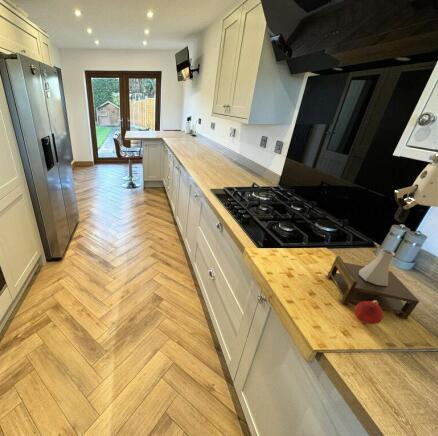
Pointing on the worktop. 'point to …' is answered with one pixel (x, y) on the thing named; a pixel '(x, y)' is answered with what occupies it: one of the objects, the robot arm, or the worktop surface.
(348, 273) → the wooden step stool
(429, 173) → the robot arm
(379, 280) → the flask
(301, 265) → the worktop surface
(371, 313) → the onion
